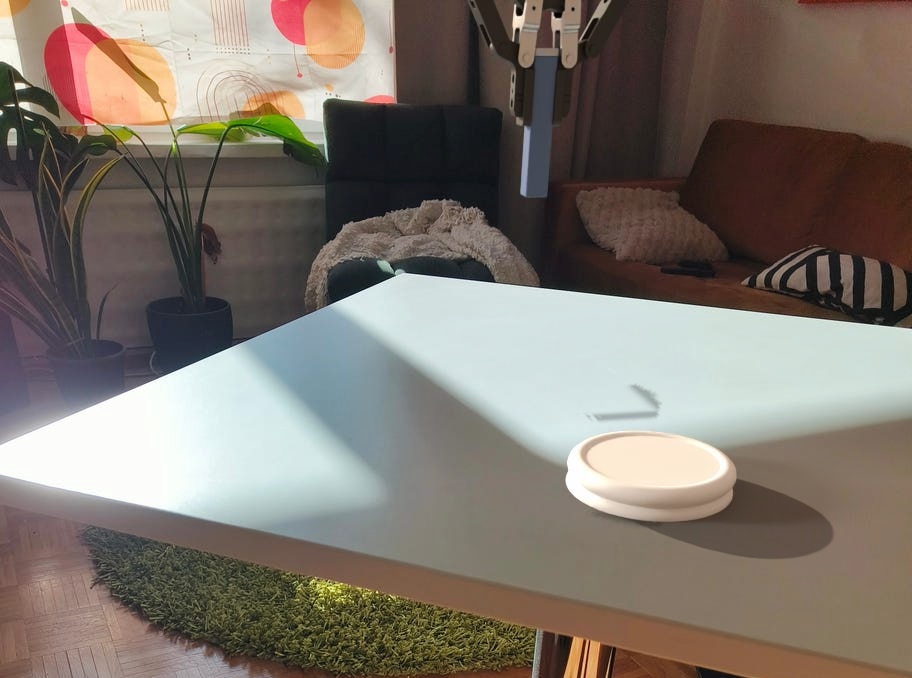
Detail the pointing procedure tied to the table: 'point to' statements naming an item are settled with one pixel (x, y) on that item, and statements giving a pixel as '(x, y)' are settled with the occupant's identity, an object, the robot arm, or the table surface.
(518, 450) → the table surface
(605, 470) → the coaster
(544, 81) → the blue square bar
